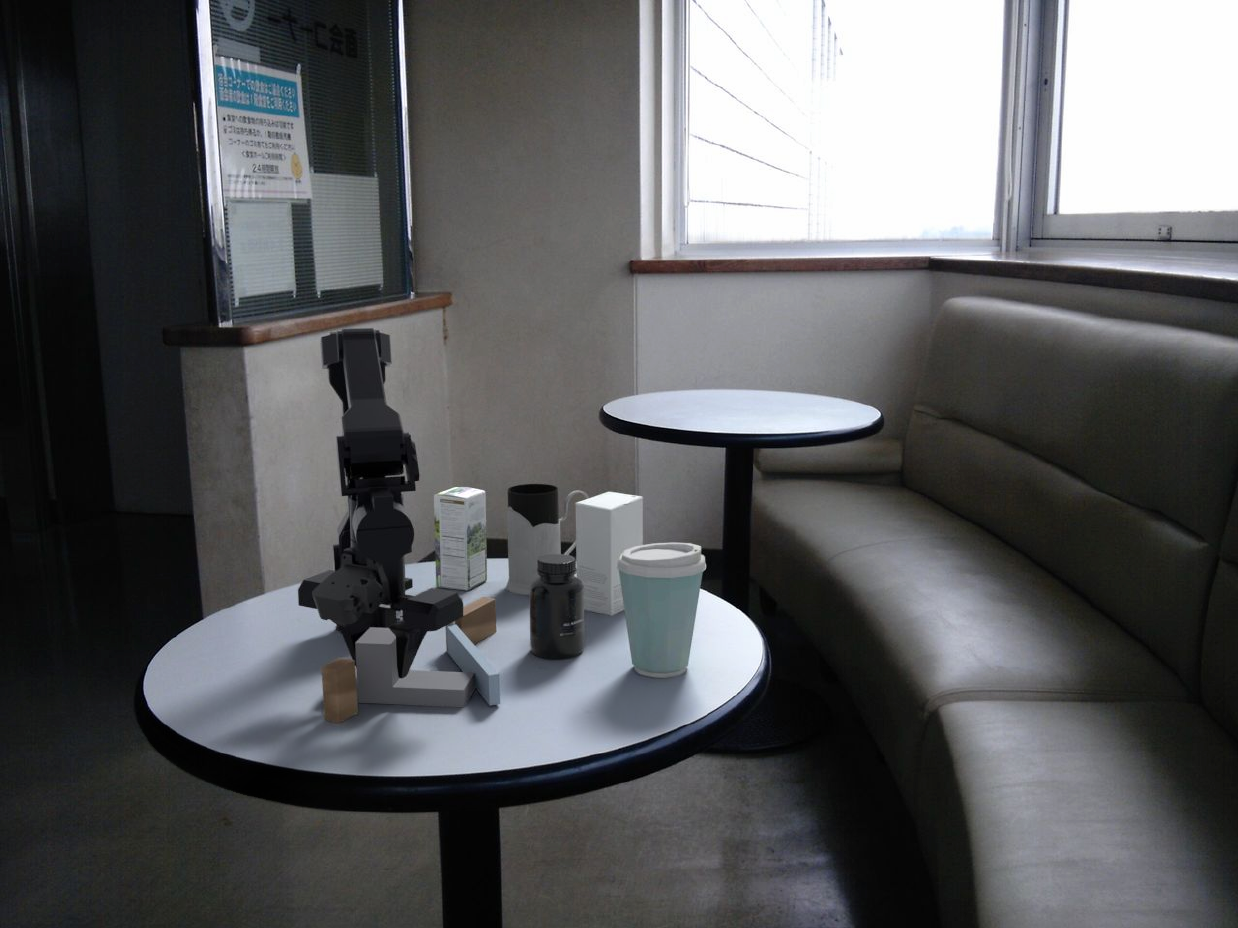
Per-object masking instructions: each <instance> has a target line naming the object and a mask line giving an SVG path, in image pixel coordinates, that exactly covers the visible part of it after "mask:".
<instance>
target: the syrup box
mask: <svg viewBox="0 0 1238 928" xmlns="http://www.w3.org/2000/svg"><path fill="white" fill-rule="evenodd" d="M486 501H487V498H486V491H485V490H484V489H479V488H473V487H466V486H461V487H460V486H458V487H455V486H454V487H452V488H450V489H446V490H444V491H440V492H439V493H435V494H433V509H434V510H433V511H434V513H433V515H434V516H433V517H434V553H435V586H436V587H437V588H444V589H451V590H461V591H470V590H471V589H474V588H475V587H477V586H479V585H481V584H483V583H484V582H486V581H487V580H488V569H487V568H488V565H487V564H488V562H487V559H488V558H487V555H488V554H487V514H486V513H487V511H486V509H487V506H486V505H487V503H486Z"/></svg>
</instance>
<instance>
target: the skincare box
mask: <svg viewBox="0 0 1238 928" xmlns="http://www.w3.org/2000/svg"><path fill="white" fill-rule="evenodd" d="M574 504H575V541H576V547H575V549H576V550H575V552H576V554H575V559H576V571H577V572H576V577H577V578H578V579H580V580H581V582H582V583H583V585H584V611H588V612H592V613H596V614H602V615H606V616H610V617H612V616H615V615H617V614H619V613H620V612H623V611H624V604H623V597H622V590H621V583H620V576H619V570H618V569H617V566H618V559H619V556H620V554H622V553H623V552H624V550H627V549H629V548H632V547H635V546H640V545H644V538H643V537H644V530H643V529H644V528H643V527H644V523H643V522H644V521H643V520H644V517H643V516H644V515H643V513H644V511H643V509H644V507H643V506H644V496H641V495H635V494H634V495H633V494H627V493H626V494H625V493H621V492H615V491H606V492H604V493H603V492H602V493H600V494H598V495H595V496H592V497H589V499H586V498H585V499H583V500H580V501H577V502H575V503H574Z"/></svg>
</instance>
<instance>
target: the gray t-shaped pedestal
mask: <svg viewBox="0 0 1238 928" xmlns="http://www.w3.org/2000/svg"><path fill="white" fill-rule="evenodd" d="M355 649H356V667H355V675H356V692H357V704H358V703H359V704H380V705H382V704H384V705H401V706H402V705H404V706H405V705H406V706H423V707H424V706H428V707H432V706H433V707H449V708H450V707H451V708H452V707H454V708H465V707H466V705H467V703H468V701H469V700H470V698H471V696H472V695H473V693H474V691H475V689H476V688H475V681H474V673H471V672H463V671H444V670H441V671H440V670H417V669H415V670H414V669H410V670H409V672H408V674H407V676H406V677H404V678H402V679H401V678H399V677H398V671H397V655H396V636H395V635H394V634H393V632H392V631H391V630H390V629H389V628H375V627H370V628H369V629H368V630H367V631H366V632H365V633H364V634H363V635H362V636H361V637H360V638H359V640H358V641H357V642H356V643H355Z"/></svg>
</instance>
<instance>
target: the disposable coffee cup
mask: <svg viewBox="0 0 1238 928" xmlns="http://www.w3.org/2000/svg"><path fill="white" fill-rule="evenodd" d="M617 569H618V570H619V576H620V583H621V590H622V597H623V604H624V610H623V611H624V615H625V625H626V630H627V636H628V637H627V638H628V645H629V652H630V658H631V664H632V665H633V666H634V671H635V672H637V673H638V674H639V675H641V676H645V677H648V678H657V679H660V678H661V679H662V678H663V679H667V678H673V677H679V676H680V675H682V674H684V673H686V670H687V669H686V668H687V667H688V666H689V661H690V654H691V649H692V648H691V647H692V643H693V636H694V630H695V625H696V624H695V623H696V616H697V610H698V604H699V597H700V592H701V584H702V579H703V573H704V571H705V570H706V569H707V563H706V556H705V555H704V554H702V546H701V545H698V544H694V543H691V542H675V541H674V542H672V541H671V542H657V543H656V542H655V543H649V544H643V545H640V546H635V547H632V548H629V549H627V550H624V552H623V553H622V554H620V556H619V559H618V566H617Z"/></svg>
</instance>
